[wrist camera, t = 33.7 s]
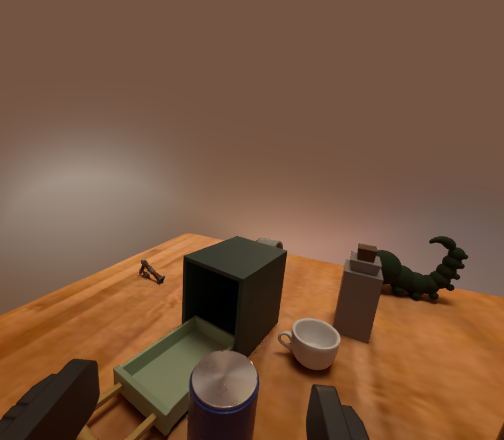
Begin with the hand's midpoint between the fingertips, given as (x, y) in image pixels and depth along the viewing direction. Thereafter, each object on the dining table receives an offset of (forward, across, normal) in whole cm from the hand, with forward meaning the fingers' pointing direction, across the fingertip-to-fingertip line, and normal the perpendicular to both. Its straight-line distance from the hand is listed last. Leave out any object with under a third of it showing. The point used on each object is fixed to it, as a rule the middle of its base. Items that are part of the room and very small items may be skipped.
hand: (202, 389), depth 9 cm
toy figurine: (+56, -43, +24) cm, 75 cm away
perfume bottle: (+38, -24, +24) cm, 51 cm away
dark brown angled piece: (+49, +24, +24) cm, 60 cm away
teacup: (+28, -12, +24) cm, 39 cm away
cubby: (+34, +1, +24) cm, 41 cm away
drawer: (+20, +9, +23) cm, 32 cm away
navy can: (+11, 0, +24) cm, 26 cm away
